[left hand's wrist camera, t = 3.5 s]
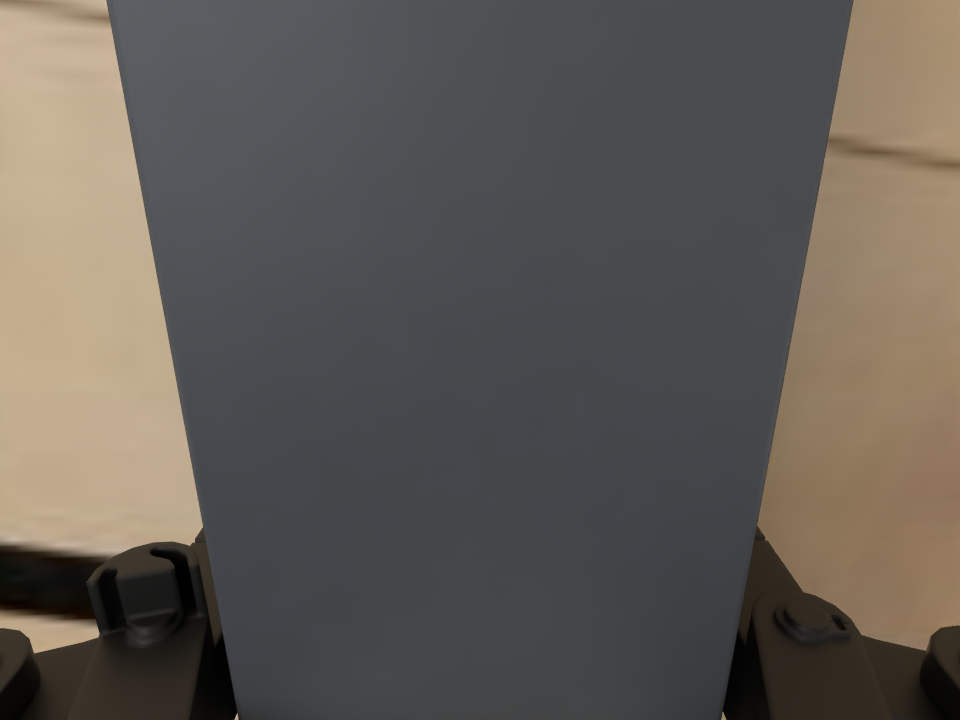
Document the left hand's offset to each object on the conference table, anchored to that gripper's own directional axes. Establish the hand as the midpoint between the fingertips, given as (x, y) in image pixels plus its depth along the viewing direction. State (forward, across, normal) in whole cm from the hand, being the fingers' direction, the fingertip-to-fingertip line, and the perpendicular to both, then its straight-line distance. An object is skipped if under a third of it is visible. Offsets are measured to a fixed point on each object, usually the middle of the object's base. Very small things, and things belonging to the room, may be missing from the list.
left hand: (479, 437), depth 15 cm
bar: (0, 0, -8) cm, 8 cm away
